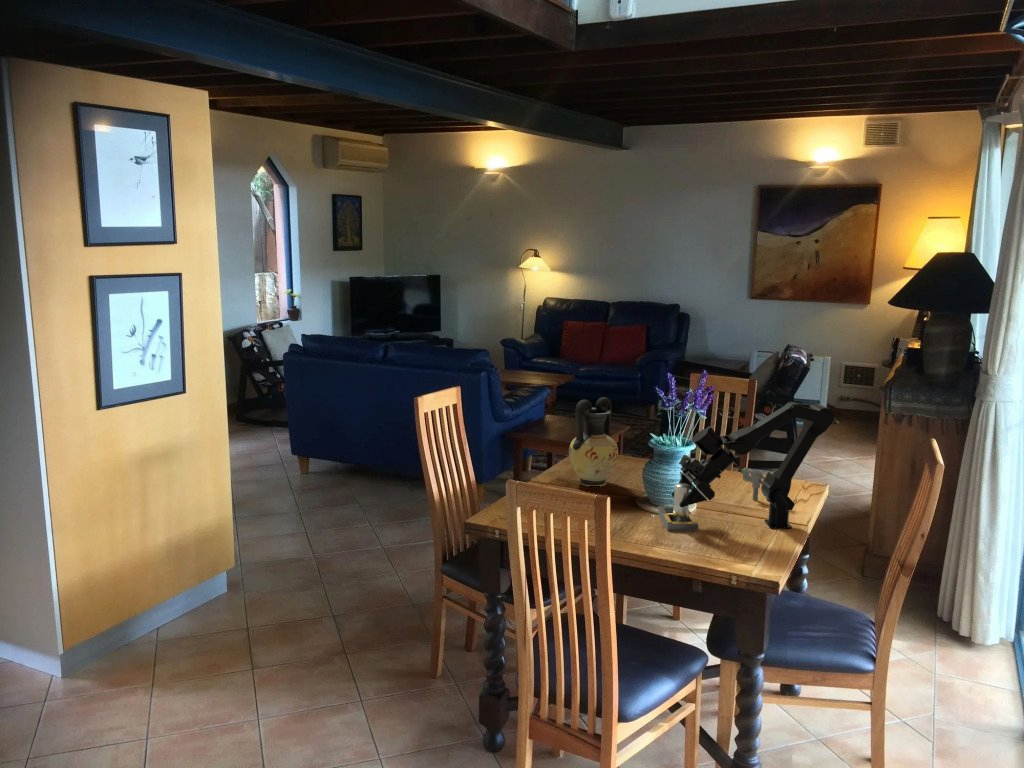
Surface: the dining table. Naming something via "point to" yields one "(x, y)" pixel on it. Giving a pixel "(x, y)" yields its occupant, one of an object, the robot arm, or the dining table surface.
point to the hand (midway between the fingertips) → (676, 501)
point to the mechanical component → (753, 479)
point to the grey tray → (676, 526)
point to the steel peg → (679, 494)
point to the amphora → (593, 443)
